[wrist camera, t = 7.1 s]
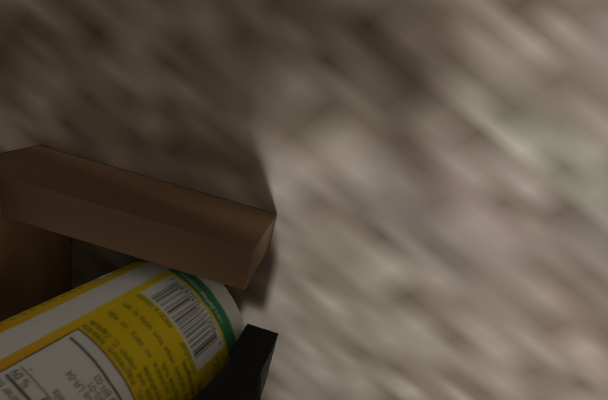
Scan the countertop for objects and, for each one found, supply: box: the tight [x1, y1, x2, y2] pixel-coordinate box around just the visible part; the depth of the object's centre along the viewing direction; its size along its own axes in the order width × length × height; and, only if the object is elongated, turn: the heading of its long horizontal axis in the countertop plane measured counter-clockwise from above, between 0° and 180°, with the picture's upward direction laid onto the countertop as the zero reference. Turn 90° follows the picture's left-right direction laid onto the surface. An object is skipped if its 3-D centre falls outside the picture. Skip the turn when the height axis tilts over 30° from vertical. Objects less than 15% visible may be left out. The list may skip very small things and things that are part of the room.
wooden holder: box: [0, 145, 277, 322], centre depth 11 cm, size 9×8×4 cm
